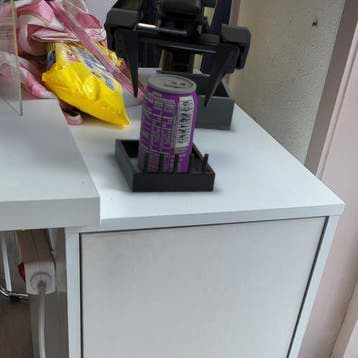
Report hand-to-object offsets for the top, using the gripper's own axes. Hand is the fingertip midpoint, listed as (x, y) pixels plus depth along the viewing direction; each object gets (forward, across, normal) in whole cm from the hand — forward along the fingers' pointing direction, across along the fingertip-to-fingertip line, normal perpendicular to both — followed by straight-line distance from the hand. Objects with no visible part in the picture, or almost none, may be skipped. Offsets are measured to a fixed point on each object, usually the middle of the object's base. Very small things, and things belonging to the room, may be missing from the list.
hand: (170, 101), depth 85 cm
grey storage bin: (-10, +3, +23) cm, 25 cm away
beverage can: (+8, 0, +6) cm, 9 cm away
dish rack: (+8, 0, +5) cm, 9 cm away
